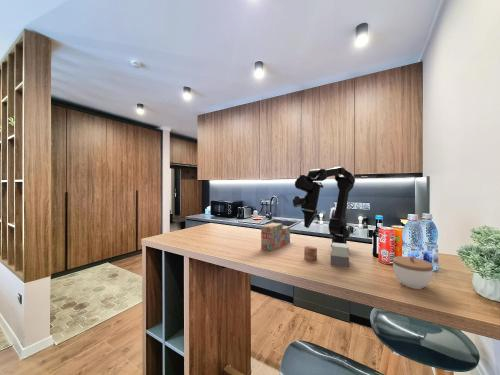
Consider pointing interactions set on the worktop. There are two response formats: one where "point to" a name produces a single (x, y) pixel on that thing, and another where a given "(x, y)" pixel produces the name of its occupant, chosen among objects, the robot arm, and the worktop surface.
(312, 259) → the wooden block
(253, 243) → the worktop surface
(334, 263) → the charcoal base block
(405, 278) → the lidded jar
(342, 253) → the sage top block
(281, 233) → the stack of blocks
